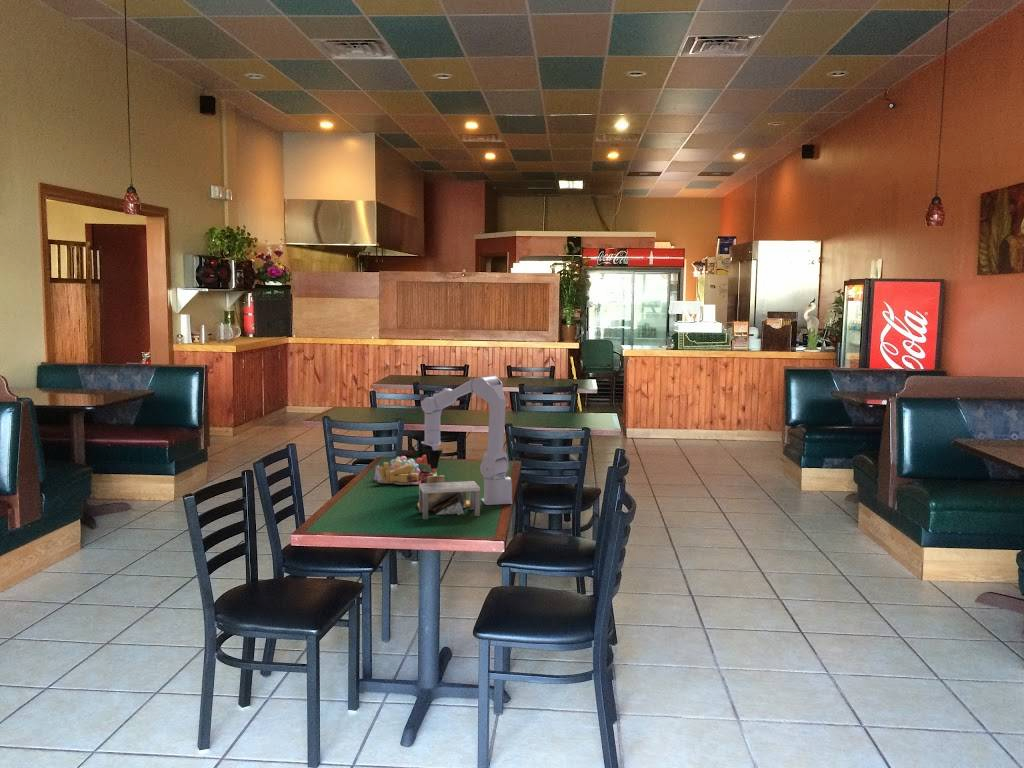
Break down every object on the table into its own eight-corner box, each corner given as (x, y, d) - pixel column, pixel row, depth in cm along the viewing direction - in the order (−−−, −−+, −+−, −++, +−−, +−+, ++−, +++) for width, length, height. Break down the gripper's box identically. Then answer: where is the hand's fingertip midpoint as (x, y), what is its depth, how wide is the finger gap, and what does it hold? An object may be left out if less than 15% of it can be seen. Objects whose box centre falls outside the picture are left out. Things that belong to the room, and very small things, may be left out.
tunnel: (473, 508, 275) (474, 481, 274) (480, 516, 265) (480, 487, 264) (419, 511, 271) (419, 483, 270) (423, 519, 261) (423, 490, 260)
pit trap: (469, 503, 282) (469, 500, 282) (472, 507, 276) (472, 504, 276) (417, 506, 277) (417, 502, 277) (419, 510, 272) (419, 506, 272)
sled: (453, 491, 298) (453, 474, 297) (465, 507, 274) (465, 490, 274) (417, 492, 295) (417, 476, 294) (427, 509, 271) (427, 492, 270)
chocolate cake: (429, 518, 265) (456, 493, 263) (426, 507, 271) (452, 483, 270) (449, 534, 269) (475, 510, 267) (445, 522, 275) (471, 499, 274)
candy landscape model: (431, 487, 307) (431, 463, 306) (369, 486, 308) (369, 462, 307) (439, 473, 332) (439, 451, 331) (381, 472, 332) (381, 450, 331)
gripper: (418, 426, 302) (418, 462, 304) (424, 433, 288) (424, 470, 290) (437, 426, 304) (437, 462, 305) (444, 432, 290) (444, 470, 291)
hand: (432, 466), depth 298 cm, fingers open, 7 cm apart
